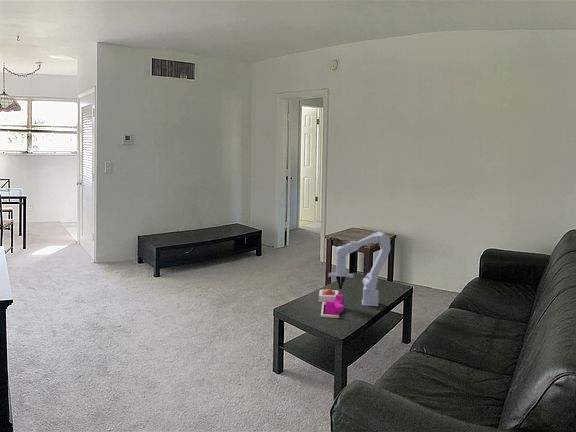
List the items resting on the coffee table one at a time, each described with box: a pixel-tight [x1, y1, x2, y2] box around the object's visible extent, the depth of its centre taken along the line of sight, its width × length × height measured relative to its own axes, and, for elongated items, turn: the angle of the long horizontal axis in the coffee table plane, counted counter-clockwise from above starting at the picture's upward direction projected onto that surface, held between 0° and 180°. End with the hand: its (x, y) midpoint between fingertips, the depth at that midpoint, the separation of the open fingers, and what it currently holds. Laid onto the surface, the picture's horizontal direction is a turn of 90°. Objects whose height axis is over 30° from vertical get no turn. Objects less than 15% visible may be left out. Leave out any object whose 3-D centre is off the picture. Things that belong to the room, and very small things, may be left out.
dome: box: [323, 288, 335, 295], centre depth 288 cm, size 7×7×6 cm
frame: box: [320, 302, 340, 319], centre depth 270 cm, size 10×20×1 cm, turn 174°
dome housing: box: [318, 289, 339, 303], centre depth 288 cm, size 12×12×4 cm
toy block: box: [325, 293, 344, 315], centre depth 269 cm, size 15×6×8 cm, turn 149°
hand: (340, 288), depth 278 cm, fingers closed
